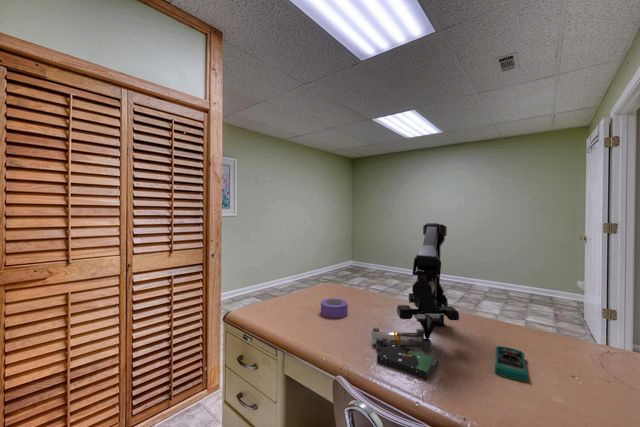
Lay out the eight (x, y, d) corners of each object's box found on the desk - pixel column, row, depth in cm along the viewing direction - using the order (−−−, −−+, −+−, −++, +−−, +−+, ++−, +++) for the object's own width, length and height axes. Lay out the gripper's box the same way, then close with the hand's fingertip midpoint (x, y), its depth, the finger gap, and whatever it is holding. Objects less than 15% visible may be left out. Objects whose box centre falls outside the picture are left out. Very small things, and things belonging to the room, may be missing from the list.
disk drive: (376, 365, 83) (428, 382, 74) (376, 355, 83) (428, 372, 74) (390, 351, 91) (438, 365, 82) (390, 342, 91) (438, 355, 82)
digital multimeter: (524, 359, 85) (524, 349, 85) (528, 384, 73) (528, 373, 73) (495, 352, 89) (495, 343, 89) (494, 375, 77) (494, 365, 77)
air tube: (418, 341, 96) (418, 330, 95) (422, 348, 91) (422, 336, 91) (371, 340, 96) (371, 329, 96) (372, 347, 92) (372, 335, 92)
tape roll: (352, 312, 125) (352, 300, 125) (339, 320, 115) (339, 308, 115) (329, 307, 131) (329, 296, 131) (315, 315, 121) (315, 303, 121)
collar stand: (422, 338, 98) (422, 328, 98) (431, 352, 88) (431, 341, 88) (372, 337, 99) (372, 327, 99) (376, 351, 89) (376, 340, 89)
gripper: (446, 285, 100) (446, 328, 101) (393, 284, 102) (393, 327, 102) (459, 294, 89) (459, 343, 89) (400, 293, 91) (400, 341, 91)
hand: (427, 338), depth 93 cm, fingers closed
